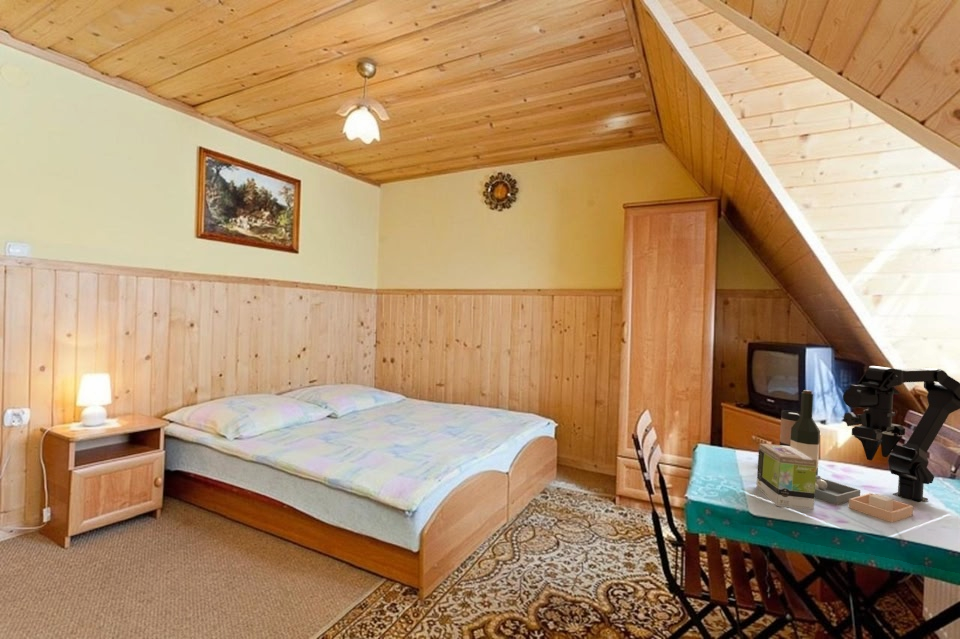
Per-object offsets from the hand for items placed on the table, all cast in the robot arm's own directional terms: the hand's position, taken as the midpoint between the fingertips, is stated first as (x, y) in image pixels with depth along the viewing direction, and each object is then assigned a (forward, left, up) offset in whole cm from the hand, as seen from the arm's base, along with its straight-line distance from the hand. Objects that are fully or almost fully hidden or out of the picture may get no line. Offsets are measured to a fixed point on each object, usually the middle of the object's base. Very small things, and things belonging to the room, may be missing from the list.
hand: (877, 458), depth 141 cm
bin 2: (+11, +6, -12) cm, 18 cm away
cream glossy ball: (+9, -10, -12) cm, 18 cm away
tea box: (+28, -11, -13) cm, 33 cm away
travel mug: (-8, -29, -13) cm, 33 cm away
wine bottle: (+1, -20, -13) cm, 24 cm away
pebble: (+14, -10, -12) cm, 21 cm away
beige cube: (+11, +6, -12) cm, 18 cm away
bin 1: (+12, -12, -12) cm, 21 cm away
